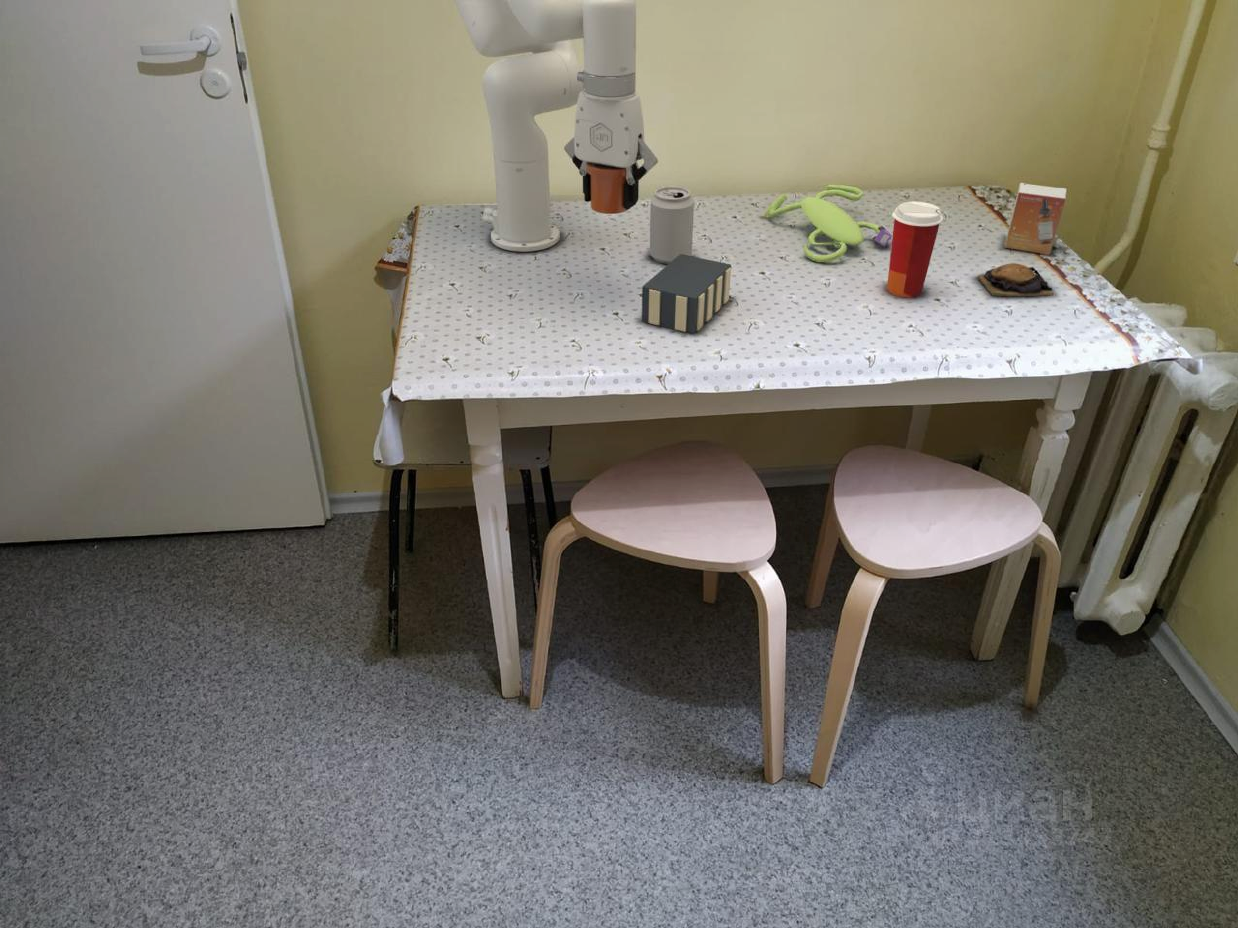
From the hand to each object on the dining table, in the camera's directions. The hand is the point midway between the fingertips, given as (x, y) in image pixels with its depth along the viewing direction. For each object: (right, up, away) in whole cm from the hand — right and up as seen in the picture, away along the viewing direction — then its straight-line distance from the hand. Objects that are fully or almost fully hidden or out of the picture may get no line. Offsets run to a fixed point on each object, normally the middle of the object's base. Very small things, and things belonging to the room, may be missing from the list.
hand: (610, 202), depth 155 cm
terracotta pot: (0, -1, 0) cm, 1 cm away
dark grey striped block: (+12, -16, +3) cm, 21 cm away
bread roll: (+67, -12, +11) cm, 69 cm away
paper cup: (+49, -12, +9) cm, 51 cm away
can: (+10, -5, +20) cm, 23 cm away
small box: (+75, -2, +25) cm, 79 cm away
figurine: (+40, +2, +30) cm, 50 cm away
